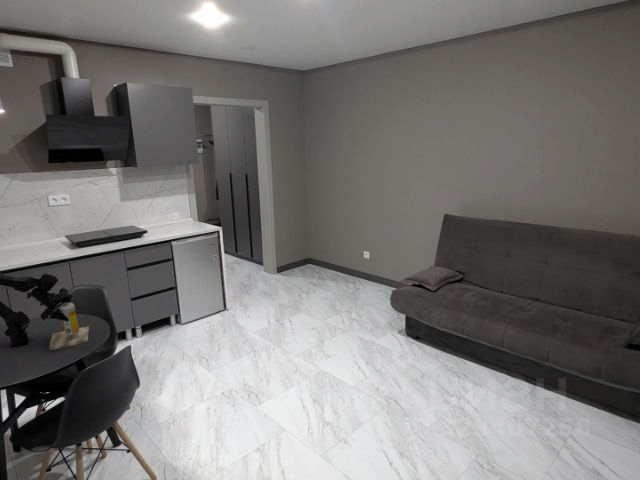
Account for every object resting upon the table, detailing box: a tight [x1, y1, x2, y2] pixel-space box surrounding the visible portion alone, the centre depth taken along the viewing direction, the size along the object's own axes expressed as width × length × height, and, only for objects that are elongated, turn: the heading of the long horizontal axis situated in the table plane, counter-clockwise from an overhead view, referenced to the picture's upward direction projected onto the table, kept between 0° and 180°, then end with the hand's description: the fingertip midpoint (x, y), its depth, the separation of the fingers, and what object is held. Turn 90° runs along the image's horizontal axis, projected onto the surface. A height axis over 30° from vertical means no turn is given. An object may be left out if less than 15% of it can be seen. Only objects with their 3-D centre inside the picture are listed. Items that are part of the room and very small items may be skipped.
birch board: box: [48, 325, 90, 351], centre depth 201 cm, size 16×16×2 cm
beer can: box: [59, 302, 80, 335], centre depth 197 cm, size 6×6×15 cm
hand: (72, 317), depth 197 cm, fingers closed on beer can, 6 cm apart
